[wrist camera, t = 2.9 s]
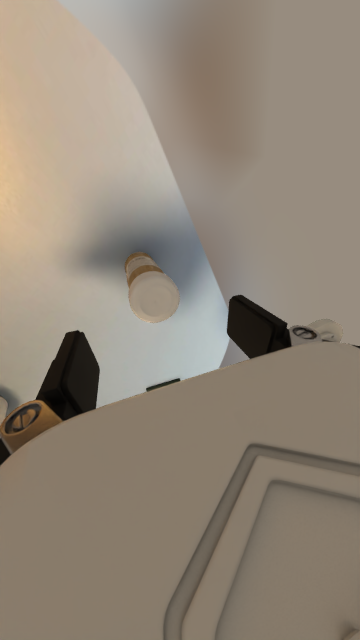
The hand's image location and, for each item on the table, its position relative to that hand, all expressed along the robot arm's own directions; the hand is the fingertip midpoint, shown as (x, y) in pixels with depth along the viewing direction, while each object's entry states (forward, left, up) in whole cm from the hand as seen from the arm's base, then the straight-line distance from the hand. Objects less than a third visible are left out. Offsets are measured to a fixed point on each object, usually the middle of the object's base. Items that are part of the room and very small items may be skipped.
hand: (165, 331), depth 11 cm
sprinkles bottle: (0, 0, -19) cm, 19 cm away
